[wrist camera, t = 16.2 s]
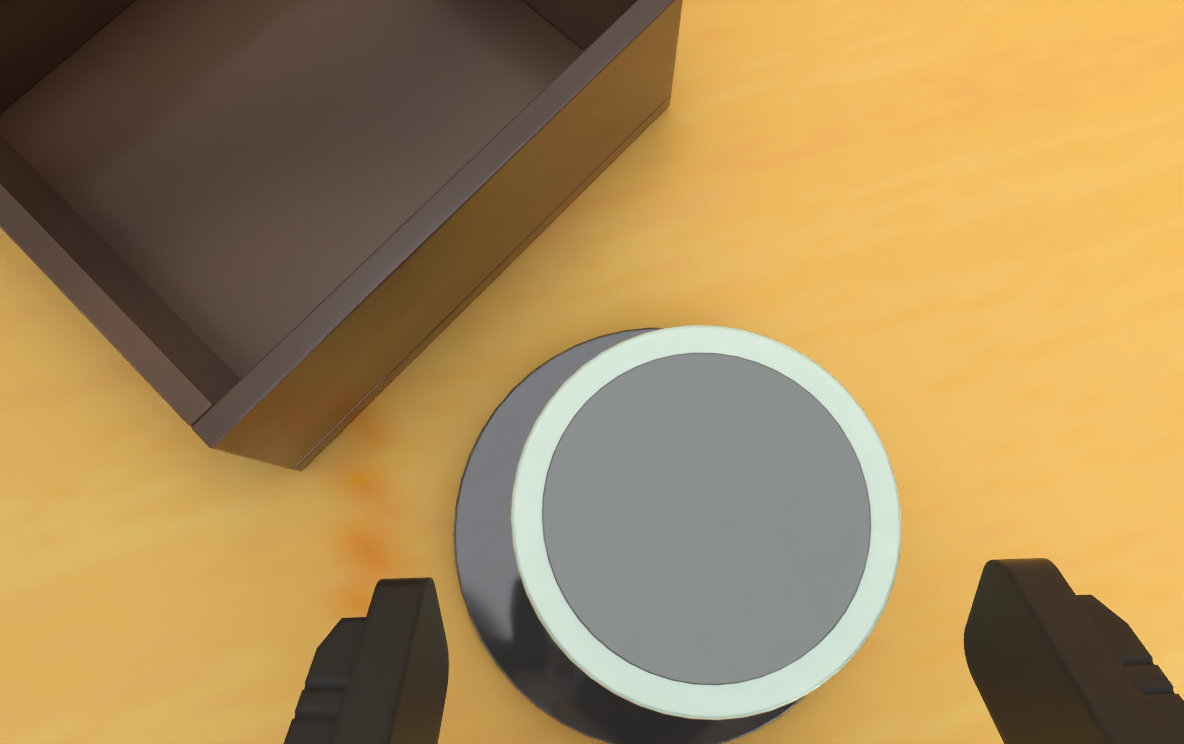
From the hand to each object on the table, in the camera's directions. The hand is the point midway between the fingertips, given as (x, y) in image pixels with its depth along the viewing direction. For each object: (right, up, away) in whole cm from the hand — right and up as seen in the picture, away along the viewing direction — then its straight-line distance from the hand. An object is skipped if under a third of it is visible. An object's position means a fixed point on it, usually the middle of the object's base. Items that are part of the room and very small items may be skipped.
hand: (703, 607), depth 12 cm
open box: (-10, +11, +13) cm, 20 cm away
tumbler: (0, -1, +9) cm, 9 cm away
